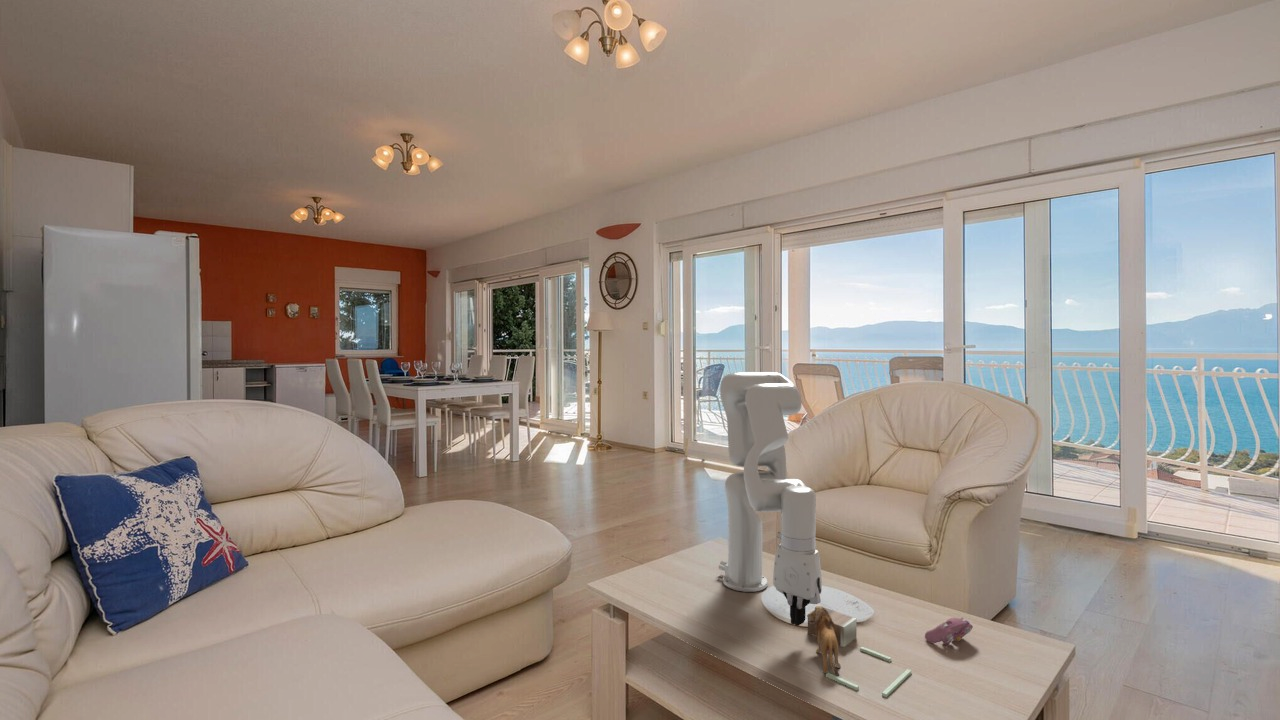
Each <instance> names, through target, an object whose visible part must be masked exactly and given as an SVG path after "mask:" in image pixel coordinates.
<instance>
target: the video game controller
mask: <svg viewBox="0 0 1280 720" xmlns="http://www.w3.org/2000/svg"><path fill="white" fill-rule="evenodd" d="M973 627H974V626H973V624H971V623H970V621H968V620H967V619H965V618H964V617H963V616H962V617H961V618H957V617H950V618H948V619H947V620H946V621H944V622H942V623H941V624H939V625H937V626H936V627H934V628H933V629H930V630H928V631H926V632H925V634H924V638H925V640H926V642H928V643H930V644H937V643H940V642H942V643H943V644H944V645H945V646H947V645H949V644H950V643H952V641H953V642H954V643H958V642H960V641H961V640H962V638H963V637H966V635H968V634H969V633H971V631H972V629H973Z"/></svg>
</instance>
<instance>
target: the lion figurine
mask: <svg viewBox="0 0 1280 720" xmlns="http://www.w3.org/2000/svg"><path fill="white" fill-rule="evenodd" d="M823 607H824V606H822V607H821V605H817V606H815V607H814V610H812V611H813V612H812V611H811V612H812V613H810V612H809V613H810V614H809V613H807V615H806V617H807V621H808V620H809V621H810V623H814V624H815V628H816V631H817V634H818V637H817V644H818V646H817V647H818V648H817V649H816V650H815V651H816V653H817V654H821V655H822V656H821V657H822V660H823V668H822V673H824V674H827V673H829V662H830V666H831V668H832V670H833V672H834V673H833V674H834V675H835V676H837V677H840V673H839V672H838V670H837V669H836V668H838V669H839V668H841V665H842V664H840V663H839V645H838V642H837V638H836V635H835V632H834V631H835V625H834V622H833V621H832V618H831V616H830V615H829V614H828V613H829V612H828V611H827V610H826V609H824V608H825V607H824V608H823ZM828 654H829V662H828V659H827V658H828ZM833 657H834V661H833Z"/></svg>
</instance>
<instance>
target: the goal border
mask: <svg viewBox="0 0 1280 720" xmlns="http://www.w3.org/2000/svg"><path fill="white" fill-rule="evenodd" d="M859 651H860V652H863V653H865V654H867V655H871V656H874V657H875V658H878V659H881V660H884V661H886V662H890V663H891V661H892V657H890V656H887V655H886V654H883V653H880V652H877V651H875V650H873V649H870V648H867V647H863V646H860V648H859ZM911 674H912V669H909V668H906V670H905V671H903V672H902V673H901V674H900V675H899V676H898V677H896V679H895V680H894V681H892V683H891V684H890V685H888V687H886V688H885V689H884V690H883V691H882V692H881V696H882V697H884V698H888V696H889V695H891V694H892V692H893V691H895V690H896V689H897V688H898V687H899V686H900V685H901V684H902V683H903V682H904V681H905V680H906V679H907V678H908V677H910V676H911ZM825 677H826V678H827V677H829V678H828V679H830V678H831V679H830V680H832V679H833V680H832V681H834V680H835V681H834V682H836V681H837V683H839V684H841V685H843V686H845V685H846V687H848V688H850V689H852V688H853V689H852V690H854V691H859V689H860V686H859V685H857V684H856V683H854V682H850V681H848V680H846V679H845V678H842V677H840V676H836V675H835V674H834V673H830V672H828V673H825Z"/></svg>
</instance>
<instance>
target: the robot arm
mask: <svg viewBox="0 0 1280 720" xmlns="http://www.w3.org/2000/svg"><path fill="white" fill-rule="evenodd" d="M719 387H720V388H719V393H720V394H719V395H720V400H721V403H722V407H723V410H724V413H725V417H726V422H727V423H726V424H727V442H728V444H727V445H728V457H729V461H730V463H731V465H733V466H735V467H740V468H742V467H743V471H738V472H733V473H731V474H729V475H728V476H727V478H726V479H725V482H724V492H725V498H726V505H727V521H728V522H727V530H728V531H727V535H728V537H727V543H728V544H727V548H728V549H727V551H728V553H727V560H723V559H722V560H721V561H720V562H719V564H718V567H717V568H718V569H719V570H720V571H724V575H723V576H722V584H723V585H724V586H725V587H727V588H728V589H730V590H734V591H737V592H744V593H745V592H746V593H751V592H752V593H754V592H759V591H762V590H765V589H766V588H767V587H768V585H769V580H768V578H766V577H765V576H764V575H763V520H762V518H761V516H759V514H758V513H770V512H771V513H772V512H773V513H774V512H780V531H777V532H776V537H777V538H779V539H780V544H778V545H777V548H776V552H775V555H774V556H775V557H774V564H773V578H772V583H773V586H774V588H776V589H775V590H776V591H778V592H779V593H781V594H782V595H783V596H784V597H785V599H786V600H787V605H788V606H789V617H790V624H792V625H795V626H796V627H799V626H800V625H803V624H804V623H805V621H806V606H808V605H809V604H811V605H818V604H820V603H821V602H822V601H821V600H822V599H821V596H820V594H822V589H823V588H822V586H823V585H822V583H823V582H822V581H823V580H822V568H821V561H820V560H821V559H820V555H819V550H818V549H816V536H817V535H816V533H817V532H816V531H817V530H816V527H817V525H816V524H817V523H816V521H817V520H816V519H817V518H816V516H817V515H816V514H817V513H816V512H817V509H816V507H817V505H816V504H817V503H816V502H817V501H816V500H817V498H816V497H817V496H816V492H815V490H813V488H810V487H808V486H807V485H806V484H805V482H804V481H803V480H801V479H799V478H788V473H787V457H786V455H787V454H786V447H785V444H786V443H787V442H788V439H789V433H788V430H787V426H786V423H785V418H784V416H793V415H797V414H798V413H799V412H800V411H801V409H802V405H803V404H802V402H803V401H802V396H801V393H800V391H799V389H798V387H797V386H796V385H795V384H794V383H793V381H791V380H790V379H789V378H788V377H786V376H784V375H783V374H781V373H779V372H775V371H774V372H773V371H758V372H757V371H740V372H739V371H738V372H731V373H728V374H726V375H724V376H723V377H722V380H721V381H720V386H719ZM758 467H765V469H766V471H761V470H760V471H759V468H758ZM757 512H758V513H757Z"/></svg>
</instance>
